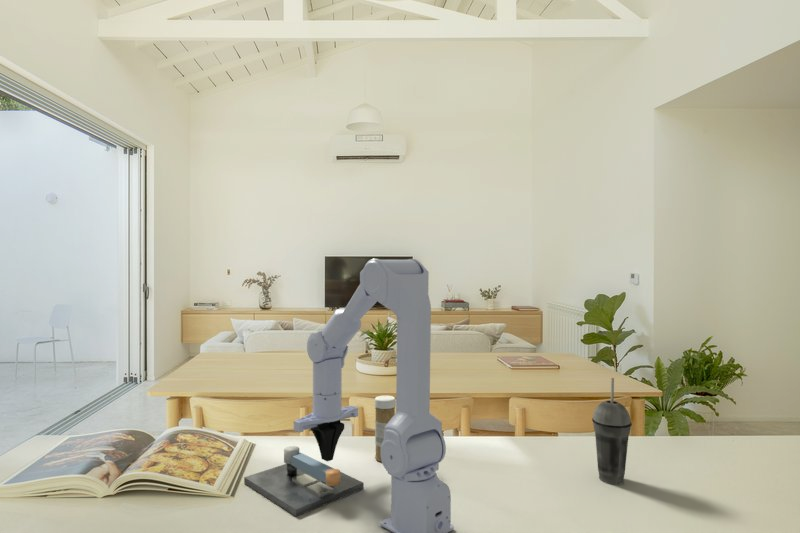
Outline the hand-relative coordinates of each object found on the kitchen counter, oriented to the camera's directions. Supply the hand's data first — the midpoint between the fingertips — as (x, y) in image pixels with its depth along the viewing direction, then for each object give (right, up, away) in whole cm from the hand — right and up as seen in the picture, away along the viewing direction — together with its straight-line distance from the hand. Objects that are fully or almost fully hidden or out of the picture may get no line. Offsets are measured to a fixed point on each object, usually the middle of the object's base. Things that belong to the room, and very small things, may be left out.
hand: (327, 459), depth 104 cm
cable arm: (-2, 0, -6) cm, 7 cm away
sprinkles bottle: (+11, -4, +9) cm, 15 cm away
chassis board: (-4, -4, -5) cm, 7 cm away
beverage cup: (+57, -4, -1) cm, 57 cm away
